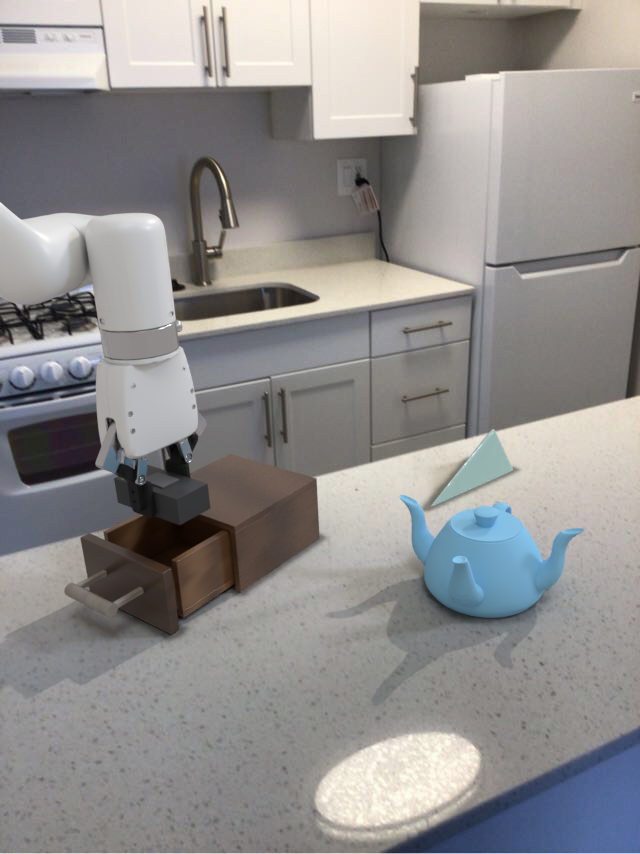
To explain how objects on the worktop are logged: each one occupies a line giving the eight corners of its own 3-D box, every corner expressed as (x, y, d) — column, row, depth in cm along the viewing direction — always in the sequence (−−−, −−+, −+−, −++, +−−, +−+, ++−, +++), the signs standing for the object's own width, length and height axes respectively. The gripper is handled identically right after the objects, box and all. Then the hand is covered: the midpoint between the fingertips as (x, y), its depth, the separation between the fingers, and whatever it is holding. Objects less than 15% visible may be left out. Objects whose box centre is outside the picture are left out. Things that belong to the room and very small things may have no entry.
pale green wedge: (478, 524, 98) (528, 454, 110) (438, 494, 99) (492, 427, 111) (451, 556, 103) (502, 486, 115) (414, 527, 105) (468, 460, 117)
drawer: (133, 660, 74) (123, 596, 71) (52, 615, 82) (40, 556, 79) (258, 575, 87) (253, 519, 85) (178, 543, 95) (172, 491, 93)
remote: (179, 525, 78) (175, 497, 77) (117, 502, 84) (113, 476, 83) (210, 508, 81) (207, 481, 80) (149, 487, 87) (145, 461, 86)
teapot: (511, 550, 92) (515, 473, 88) (583, 619, 78) (591, 531, 75) (398, 572, 89) (397, 493, 85) (453, 648, 75) (455, 557, 71)
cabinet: (241, 598, 85) (234, 526, 82) (154, 561, 93) (145, 494, 90) (320, 543, 96) (316, 478, 92) (235, 514, 104) (230, 453, 101)
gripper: (177, 320, 84) (195, 469, 91) (45, 357, 72) (77, 527, 78) (226, 327, 80) (241, 483, 86) (94, 367, 68) (123, 546, 74)
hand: (162, 502), depth 82 cm, fingers closed on remote, 4 cm apart
